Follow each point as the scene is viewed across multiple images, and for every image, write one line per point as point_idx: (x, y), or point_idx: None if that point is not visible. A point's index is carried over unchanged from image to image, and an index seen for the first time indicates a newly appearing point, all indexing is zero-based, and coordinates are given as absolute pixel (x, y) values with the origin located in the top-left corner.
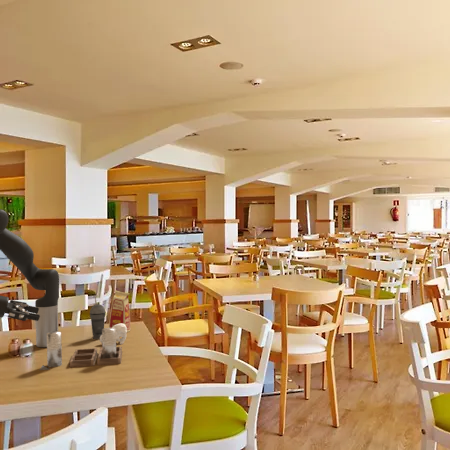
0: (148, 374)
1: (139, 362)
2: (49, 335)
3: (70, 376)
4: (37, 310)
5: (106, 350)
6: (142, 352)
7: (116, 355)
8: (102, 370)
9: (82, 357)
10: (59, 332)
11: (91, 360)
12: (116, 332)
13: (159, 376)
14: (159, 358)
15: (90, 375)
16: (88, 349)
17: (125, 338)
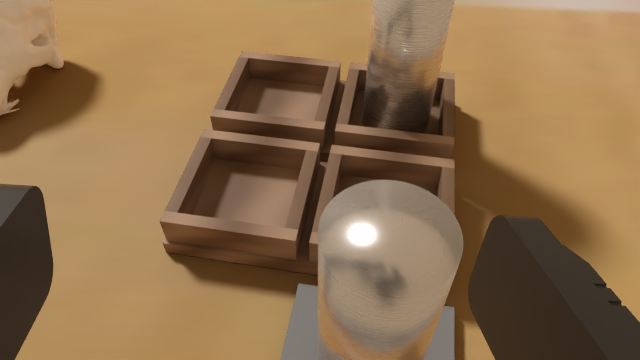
0: (586, 51)
1: None
2: (452, 279)
3: None
4: (37, 236)
5: (435, 82)
6: (262, 30)
7: (357, 85)
8: (497, 162)
9: None
10: (392, 192)
11: (453, 168)
12: (22, 24)
13: (615, 34)
14: None
15: (575, 210)
16: (200, 164)
17: (55, 31)
